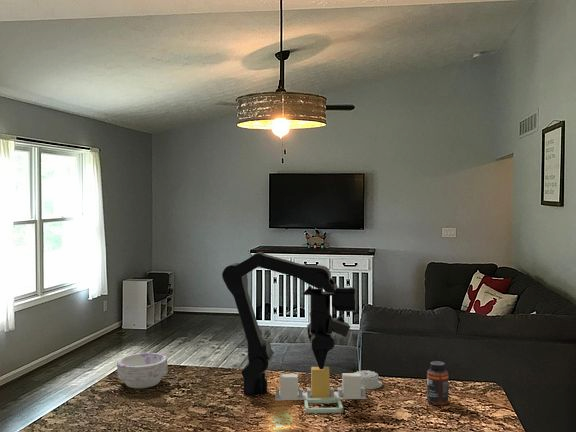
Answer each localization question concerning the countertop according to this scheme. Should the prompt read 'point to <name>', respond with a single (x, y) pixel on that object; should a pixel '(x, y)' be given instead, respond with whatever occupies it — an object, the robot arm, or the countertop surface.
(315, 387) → the block
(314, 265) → the robot arm
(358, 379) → the block
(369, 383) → the mechanical component
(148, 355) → the paper bowls
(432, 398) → the supplement bottle
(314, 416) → the countertop surface
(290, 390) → the block
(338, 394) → the block
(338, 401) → the tray
